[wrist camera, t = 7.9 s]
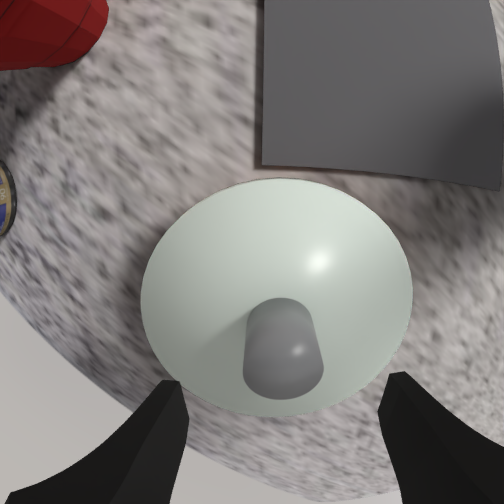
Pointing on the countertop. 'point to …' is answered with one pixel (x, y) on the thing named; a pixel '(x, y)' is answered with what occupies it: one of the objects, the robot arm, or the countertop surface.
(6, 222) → the pill bottle
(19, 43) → the plastic cup
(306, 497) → the countertop surface
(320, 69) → the mat
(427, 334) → the countertop surface
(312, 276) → the lid
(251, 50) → the countertop surface
